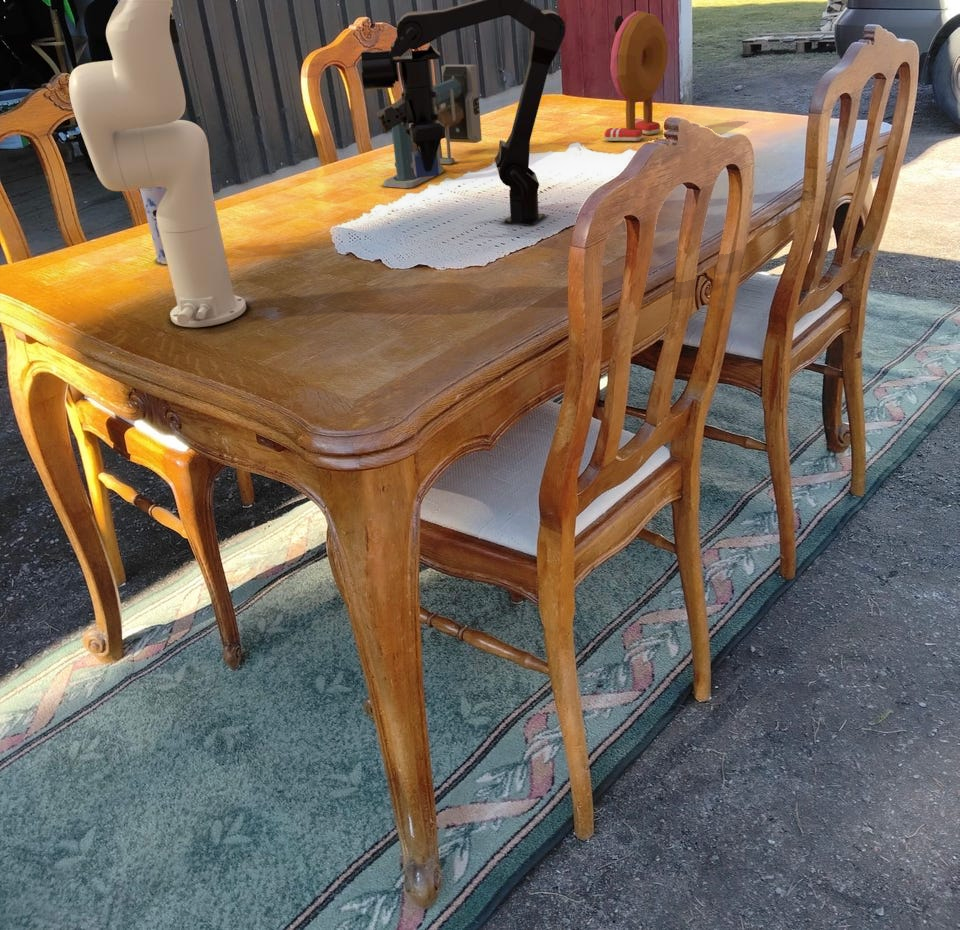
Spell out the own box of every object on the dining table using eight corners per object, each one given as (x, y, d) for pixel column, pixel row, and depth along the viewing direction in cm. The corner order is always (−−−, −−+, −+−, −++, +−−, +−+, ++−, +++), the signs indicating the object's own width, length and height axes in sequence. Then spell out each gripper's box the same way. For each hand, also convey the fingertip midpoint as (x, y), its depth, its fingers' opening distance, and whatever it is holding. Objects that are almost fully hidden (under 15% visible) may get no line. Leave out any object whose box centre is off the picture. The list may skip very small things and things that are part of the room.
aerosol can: (156, 266, 189) (130, 162, 179) (157, 254, 195) (131, 153, 185) (197, 260, 190) (173, 156, 180) (196, 248, 197) (173, 148, 187)
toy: (639, 125, 264) (640, 5, 249) (672, 128, 258) (675, 5, 243) (595, 143, 250) (594, 16, 235) (629, 146, 245) (630, 16, 229)
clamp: (411, 188, 225) (400, 91, 214) (380, 186, 229) (368, 91, 218) (482, 152, 251) (476, 64, 240) (453, 150, 255) (446, 64, 244)
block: (435, 170, 194) (433, 149, 192) (439, 175, 191) (437, 153, 188) (413, 172, 194) (411, 151, 192) (416, 177, 190) (414, 156, 188)
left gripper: (128, -61, 172) (152, 43, 181) (113, -58, 157) (140, 55, 166) (171, -65, 173) (193, 39, 181) (160, -62, 158) (184, 50, 167)
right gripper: (371, 82, 191) (381, 163, 199) (381, 98, 175) (391, 185, 183) (427, 76, 192) (434, 156, 200) (441, 91, 176) (449, 177, 184)
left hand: (167, 46), depth 174 cm, fingers open, 9 cm apart
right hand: (426, 168), depth 192 cm, fingers closed on block, 4 cm apart
